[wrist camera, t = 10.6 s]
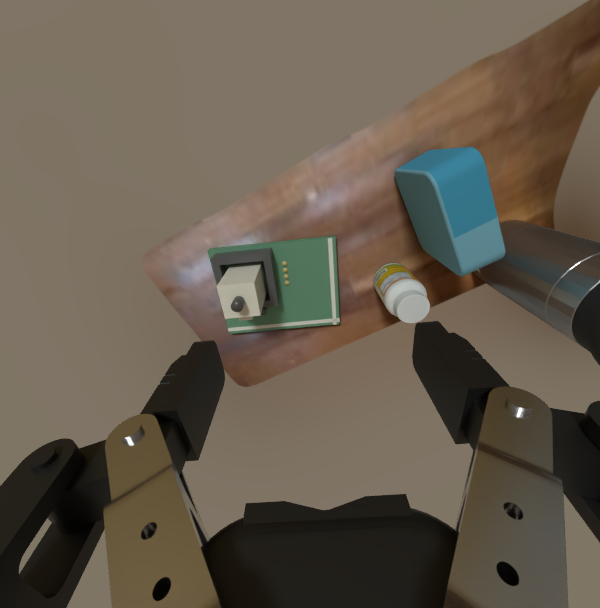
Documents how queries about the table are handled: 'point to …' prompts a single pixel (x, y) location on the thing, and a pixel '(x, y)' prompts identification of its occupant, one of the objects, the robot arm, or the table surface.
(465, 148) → the data package
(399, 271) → the supplement bottle
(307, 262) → the header board
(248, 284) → the plug
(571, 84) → the table surface
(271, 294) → the frame
